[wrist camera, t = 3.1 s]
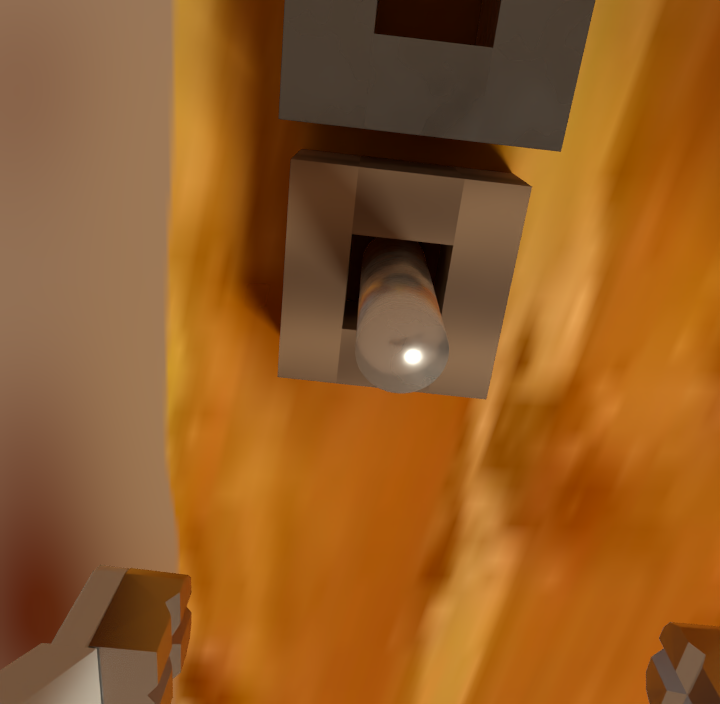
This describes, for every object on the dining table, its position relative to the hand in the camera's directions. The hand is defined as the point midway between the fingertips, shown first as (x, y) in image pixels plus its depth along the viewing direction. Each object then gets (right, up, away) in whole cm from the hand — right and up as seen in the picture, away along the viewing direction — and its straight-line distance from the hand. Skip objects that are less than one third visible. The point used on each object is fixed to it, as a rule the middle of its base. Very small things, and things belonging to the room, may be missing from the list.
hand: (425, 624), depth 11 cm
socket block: (+1, +9, +21) cm, 23 cm away
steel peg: (+1, +9, +21) cm, 23 cm away
